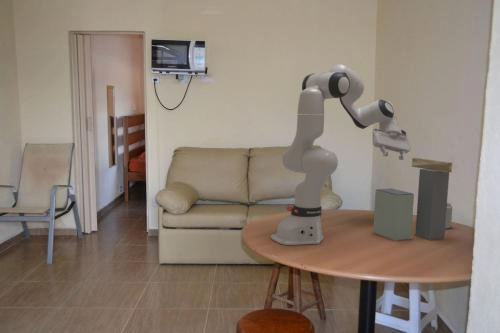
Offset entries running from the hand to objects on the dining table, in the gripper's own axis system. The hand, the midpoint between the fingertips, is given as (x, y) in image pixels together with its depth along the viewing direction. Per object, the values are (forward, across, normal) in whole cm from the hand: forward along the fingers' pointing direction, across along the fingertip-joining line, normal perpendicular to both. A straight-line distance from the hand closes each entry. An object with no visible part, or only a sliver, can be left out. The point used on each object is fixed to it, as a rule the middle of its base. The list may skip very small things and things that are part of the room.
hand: (393, 157), depth 209 cm
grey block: (+36, -2, +7) cm, 37 cm away
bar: (+11, +7, -14) cm, 19 cm away
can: (+28, +31, +8) cm, 43 cm away
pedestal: (+37, +13, 0) cm, 39 cm away
